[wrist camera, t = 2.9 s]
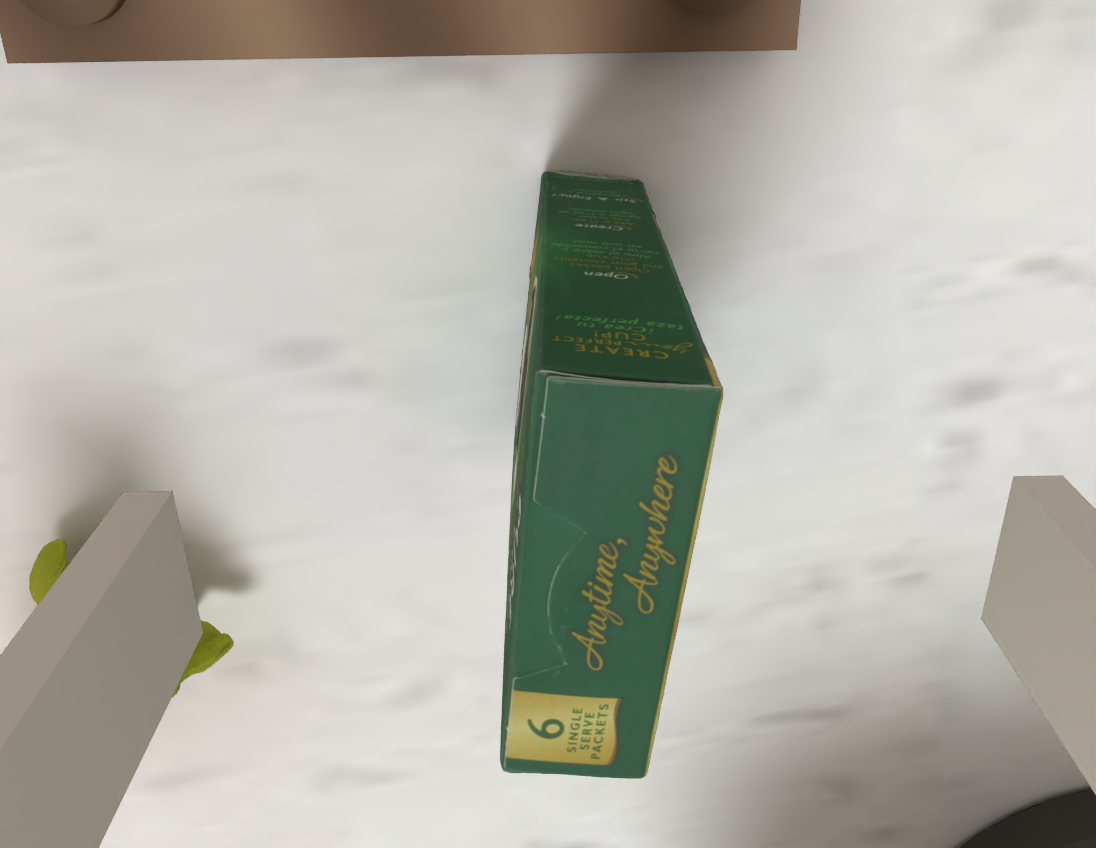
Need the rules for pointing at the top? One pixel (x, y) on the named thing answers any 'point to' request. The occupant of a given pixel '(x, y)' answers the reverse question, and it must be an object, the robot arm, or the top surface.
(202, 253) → the top surface
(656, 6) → the base plate
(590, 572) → the coffee box
